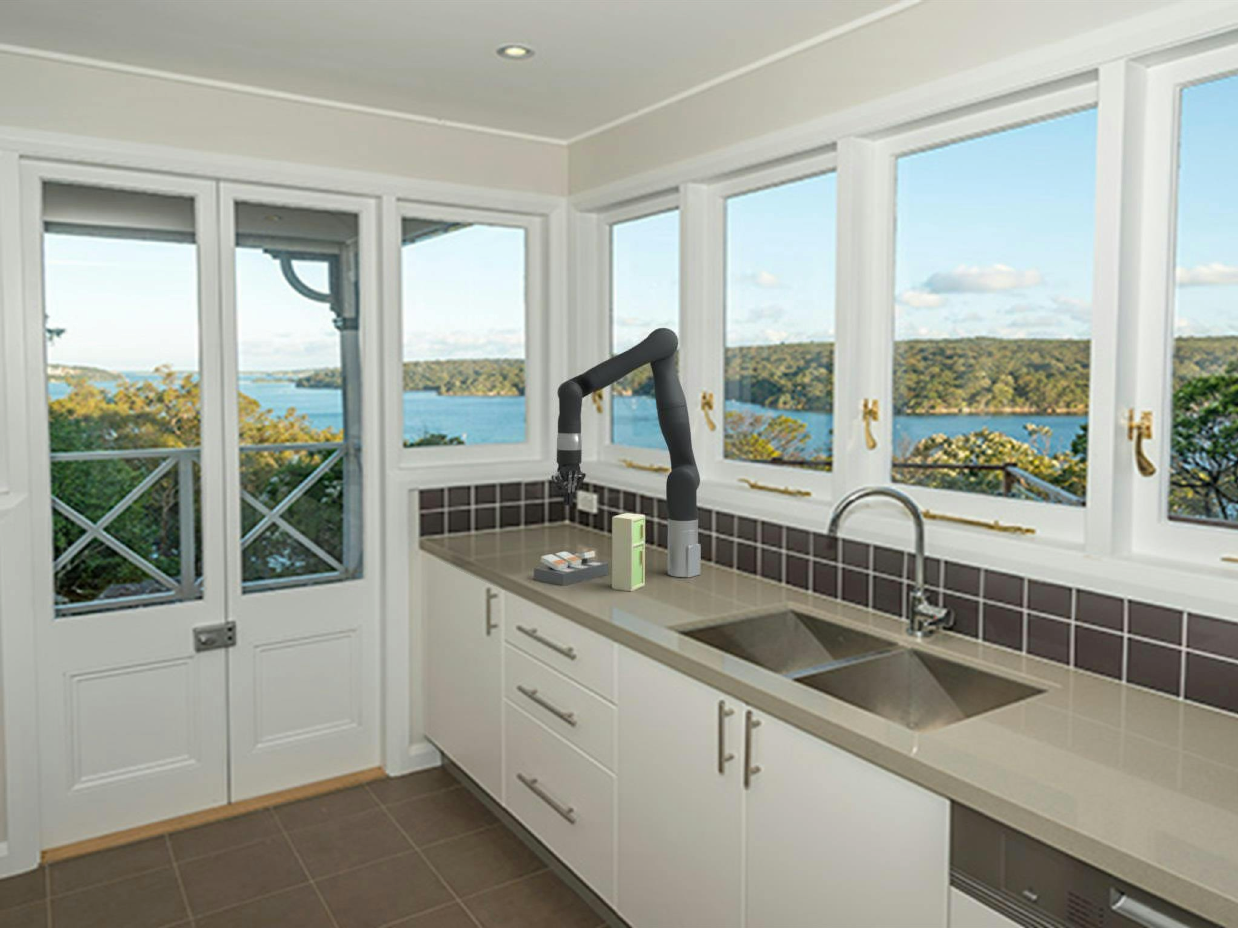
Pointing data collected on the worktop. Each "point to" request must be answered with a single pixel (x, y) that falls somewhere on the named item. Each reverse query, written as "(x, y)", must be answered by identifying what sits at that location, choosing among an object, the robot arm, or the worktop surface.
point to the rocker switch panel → (572, 572)
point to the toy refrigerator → (628, 551)
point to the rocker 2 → (585, 555)
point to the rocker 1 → (554, 562)
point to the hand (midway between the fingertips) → (568, 504)
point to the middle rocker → (569, 558)
